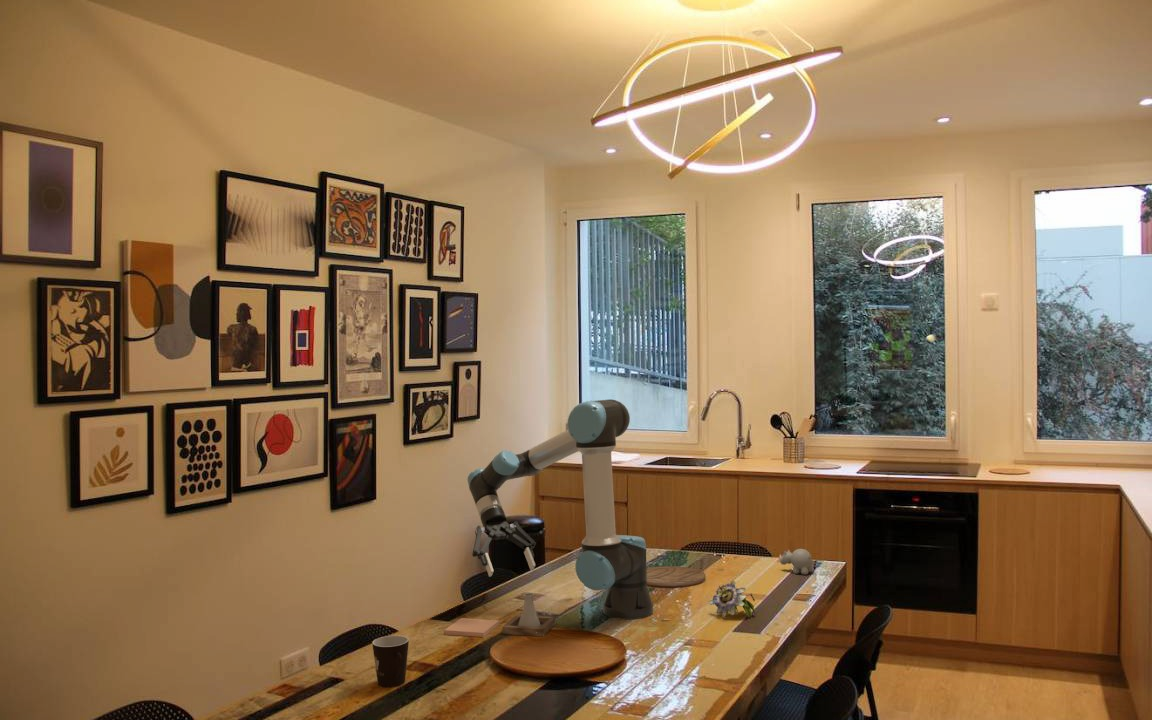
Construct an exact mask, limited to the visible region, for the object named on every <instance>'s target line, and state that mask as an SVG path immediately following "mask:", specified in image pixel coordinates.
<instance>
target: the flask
mask: <svg viewBox="0 0 1152 720" xmlns="http://www.w3.org/2000/svg"><path fill="white" fill-rule="evenodd" d="M522 596H523V598H524V601H523V602H524V603H523V608H522V611H521V614H520V615H521V617H520V620H519V623H518V625H517V626H525V627H540V626H541V625H540V622H539V619H538V616H539V615H538V614H537V611H536V609H535V603H534V596H535V593H534V592H525V593H523V594H522Z"/></svg>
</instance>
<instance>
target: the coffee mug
mask: <svg viewBox="0 0 1152 720" xmlns="http://www.w3.org/2000/svg"><path fill="white" fill-rule="evenodd" d="M409 641H410V638H408V637H407V636H404V635H386V636H381V637H378V638H375V639H374V640H372V642H371V643H372V650H373V651H372V652H373V659H374V666H375V672H376V679H377V685H378V686H379V687H381V688H385V689H387V688H396V687H400V686H402V685H404V684H405V683H406V674H407V666H408V665H407V664H408V663H407V662H408V654H409V653H408V652H409Z"/></svg>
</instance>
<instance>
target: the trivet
mask: <svg viewBox="0 0 1152 720" xmlns="http://www.w3.org/2000/svg"><path fill="white" fill-rule="evenodd" d="M646 571H647V587H650V588H659V589H660V588H662V589H679V588H680V589H682V588H690V587H694V586H698V585H701V584H703V583H705V582H706V573H705V572H704V571H702V570H701V569H698V568H697V569H696V568H693V567H687V566H677V565H676V566H675V565H673V566H672V565H668V566H667V565H664V566H650V567H646Z"/></svg>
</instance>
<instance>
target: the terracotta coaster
mask: <svg viewBox="0 0 1152 720" xmlns="http://www.w3.org/2000/svg"><path fill="white" fill-rule="evenodd" d="M498 626H500V620H498V619H497V620H495V619H482V618H480V619H477V618H465V617H463V618H462V617H460V618H459V619H458V620H456V621H455V622H454V623H452V624H450V625H449V626H448V627H446V628H444V630H443V635H446V636H447V635H449V636H462V637H477V638H485V637H486V636H487V635H488V634H490V633H491V632H492V631H493V630H494V629H496V628H497V627H498Z"/></svg>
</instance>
